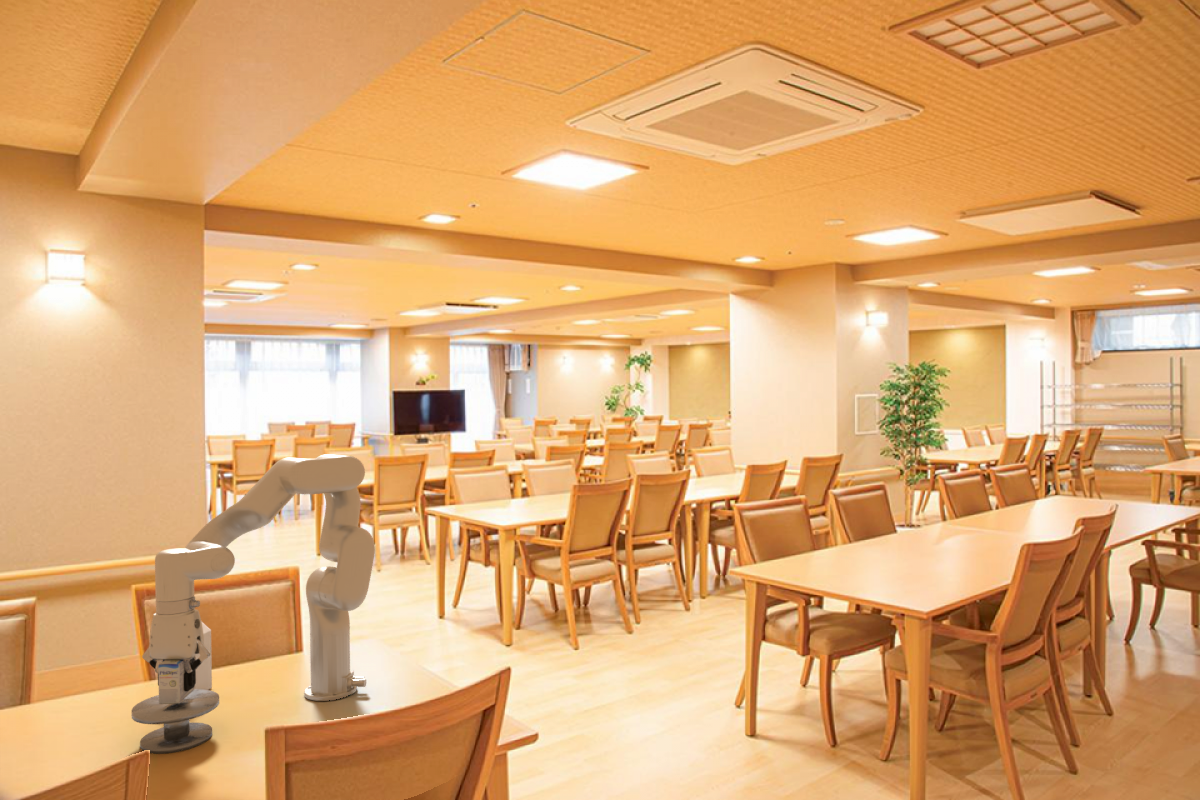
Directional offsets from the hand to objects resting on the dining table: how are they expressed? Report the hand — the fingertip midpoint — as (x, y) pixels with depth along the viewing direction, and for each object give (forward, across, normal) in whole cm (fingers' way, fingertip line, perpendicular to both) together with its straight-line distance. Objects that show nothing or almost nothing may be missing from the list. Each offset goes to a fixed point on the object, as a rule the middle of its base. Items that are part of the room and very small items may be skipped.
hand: (177, 688), depth 178 cm
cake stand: (+11, 0, 0) cm, 11 cm away
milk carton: (+11, +13, -28) cm, 33 cm away
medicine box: (+2, 0, 0) cm, 2 cm away
